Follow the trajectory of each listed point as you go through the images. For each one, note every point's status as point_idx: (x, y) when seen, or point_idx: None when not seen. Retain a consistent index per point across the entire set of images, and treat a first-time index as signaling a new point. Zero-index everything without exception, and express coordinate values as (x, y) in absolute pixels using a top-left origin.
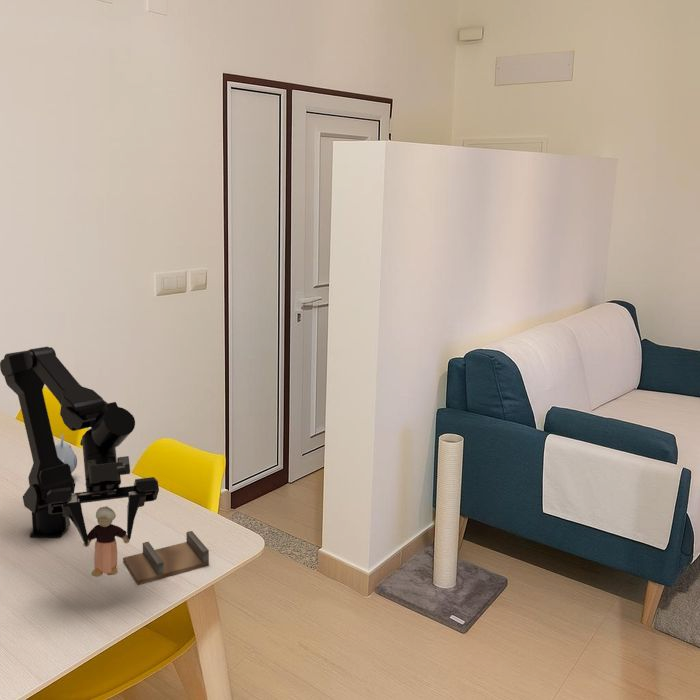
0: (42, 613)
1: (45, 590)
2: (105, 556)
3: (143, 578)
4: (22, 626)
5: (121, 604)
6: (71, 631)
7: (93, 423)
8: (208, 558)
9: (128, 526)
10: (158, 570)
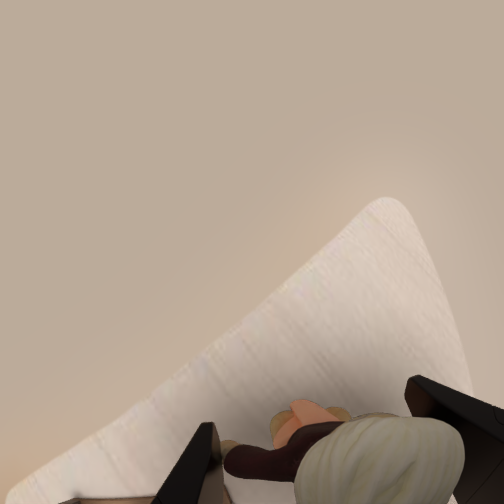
0: None
1: None
2: (318, 408)
3: None
4: (441, 352)
5: (260, 415)
6: (356, 329)
7: None
8: (65, 501)
9: (203, 459)
10: None
